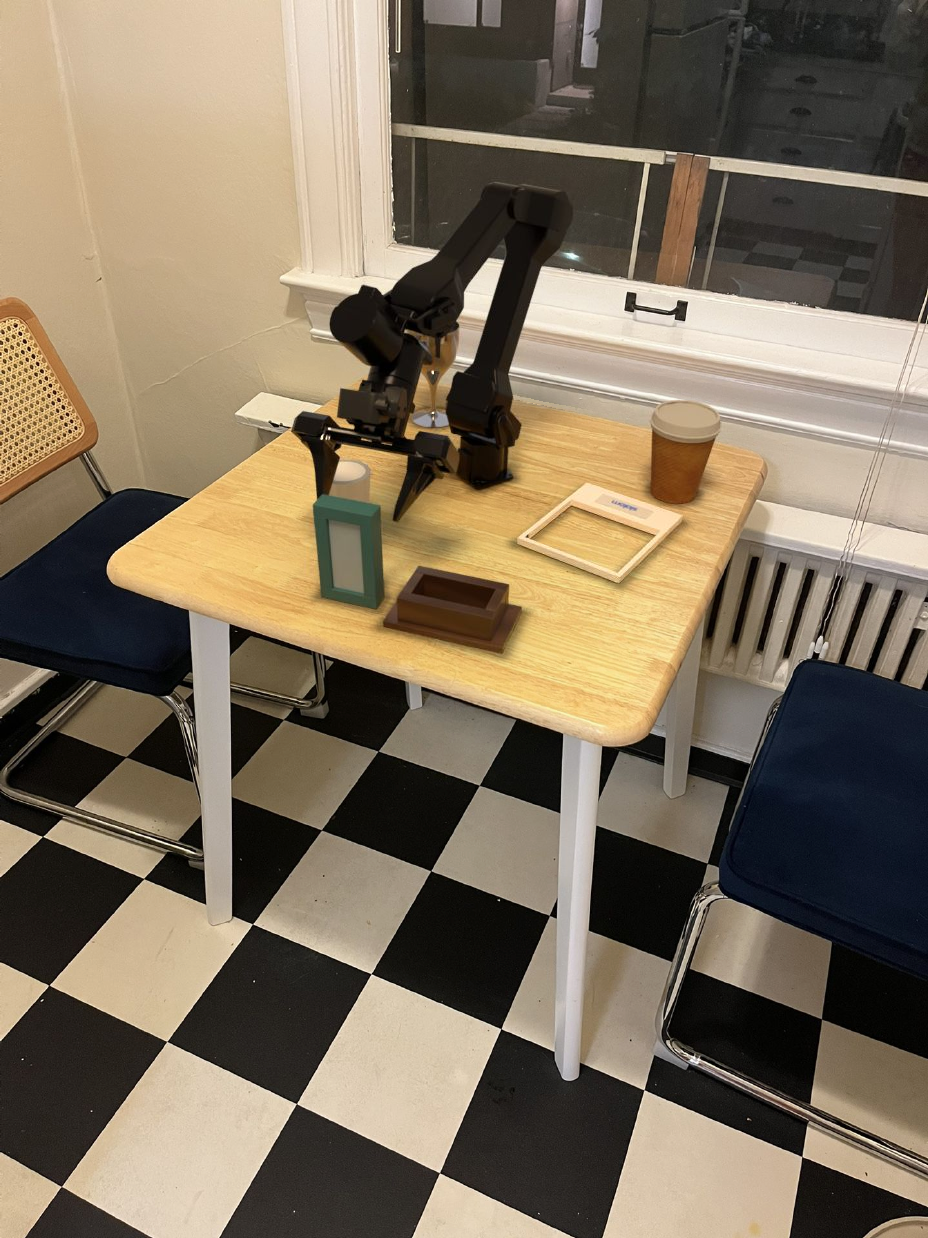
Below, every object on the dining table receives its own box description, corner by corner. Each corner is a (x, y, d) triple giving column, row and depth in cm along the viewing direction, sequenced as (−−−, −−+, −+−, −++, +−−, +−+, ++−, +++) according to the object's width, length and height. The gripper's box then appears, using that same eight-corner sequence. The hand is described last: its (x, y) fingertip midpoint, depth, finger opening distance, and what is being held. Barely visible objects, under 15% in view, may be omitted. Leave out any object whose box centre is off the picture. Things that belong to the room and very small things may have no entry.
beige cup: (364, 534, 118) (362, 486, 113) (314, 527, 119) (309, 480, 114) (379, 507, 123) (377, 461, 119) (330, 501, 124) (326, 455, 120)
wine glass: (403, 426, 143) (401, 332, 134) (414, 405, 149) (412, 314, 140) (453, 430, 142) (454, 336, 133) (461, 409, 148) (463, 318, 139)
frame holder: (408, 587, 108) (408, 559, 106) (521, 611, 105) (523, 583, 102) (383, 626, 102) (381, 598, 100) (502, 653, 99) (503, 624, 96)
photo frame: (683, 514, 121) (620, 575, 109) (681, 521, 121) (618, 583, 110) (586, 481, 127) (517, 536, 115) (586, 488, 128) (517, 543, 116)
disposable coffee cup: (705, 479, 131) (721, 401, 124) (708, 513, 123) (726, 432, 116) (639, 473, 132) (651, 395, 125) (638, 506, 125) (650, 425, 117)
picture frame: (330, 585, 108) (322, 493, 101) (384, 597, 107) (380, 505, 99) (321, 597, 106) (312, 504, 99) (376, 609, 105) (371, 516, 97)
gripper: (290, 341, 99) (252, 477, 97) (453, 366, 94) (416, 509, 92) (327, 383, 109) (293, 506, 108) (474, 407, 105) (441, 536, 103)
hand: (357, 514), depth 102 cm, fingers open, 9 cm apart
